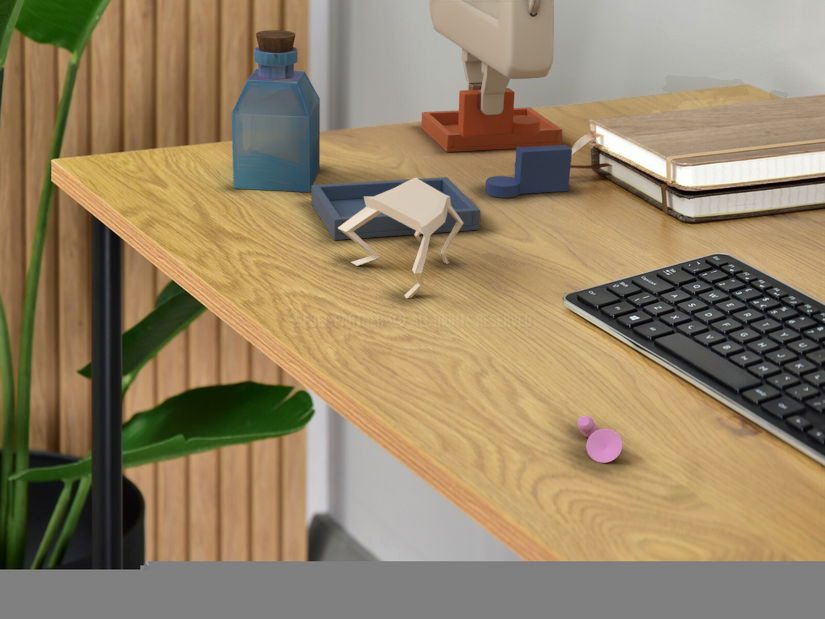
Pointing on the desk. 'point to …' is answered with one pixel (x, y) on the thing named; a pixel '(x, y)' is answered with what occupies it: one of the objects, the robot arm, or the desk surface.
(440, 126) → the terracotta tray
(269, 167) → the perfume bottle
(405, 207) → the origami figure
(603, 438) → the pink game pawn
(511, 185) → the blue block with disc
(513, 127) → the red brick block
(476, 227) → the blue tray
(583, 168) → the desk surface
